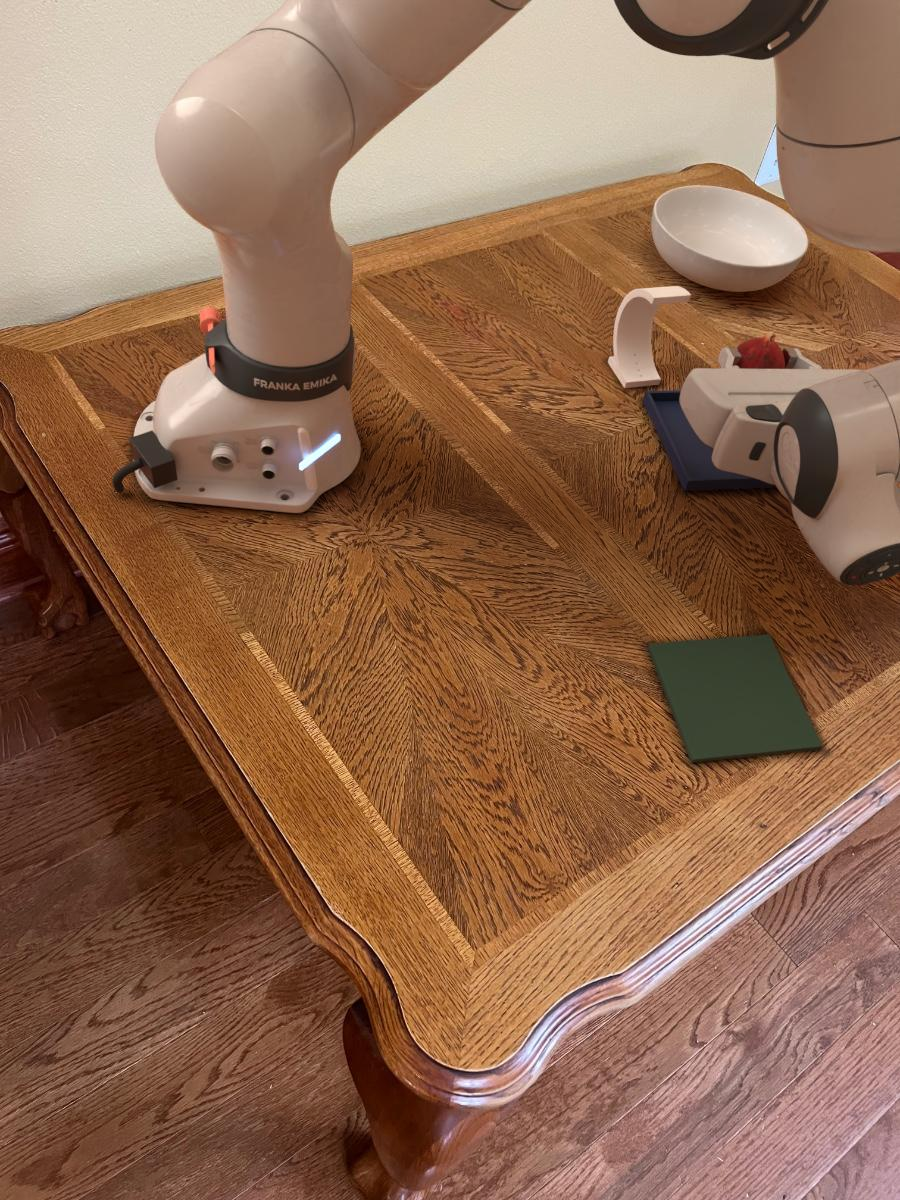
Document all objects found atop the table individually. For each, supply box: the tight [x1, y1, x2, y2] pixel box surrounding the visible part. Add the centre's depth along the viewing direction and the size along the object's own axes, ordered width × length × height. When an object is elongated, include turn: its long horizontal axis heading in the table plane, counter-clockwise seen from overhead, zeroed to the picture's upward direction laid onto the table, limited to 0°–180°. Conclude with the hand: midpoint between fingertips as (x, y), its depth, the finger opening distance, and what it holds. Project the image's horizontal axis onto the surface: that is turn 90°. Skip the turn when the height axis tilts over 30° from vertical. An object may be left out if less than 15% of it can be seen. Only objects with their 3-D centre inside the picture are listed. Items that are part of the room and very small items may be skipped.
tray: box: [642, 389, 777, 492], centre depth 105 cm, size 15×15×2 cm
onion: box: [736, 330, 785, 369], centre depth 97 cm, size 6×6×8 cm
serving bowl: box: [650, 184, 809, 293], centre depth 127 cm, size 21×21×7 cm
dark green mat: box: [646, 633, 824, 764], centre depth 83 cm, size 12×12×1 cm
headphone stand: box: [607, 285, 692, 389], centre depth 107 cm, size 5×6×12 cm
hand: (756, 353), depth 97 cm, fingers closed on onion, 5 cm apart
